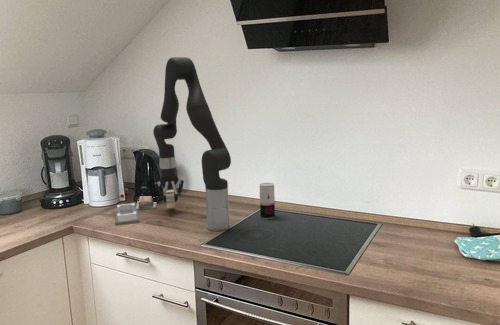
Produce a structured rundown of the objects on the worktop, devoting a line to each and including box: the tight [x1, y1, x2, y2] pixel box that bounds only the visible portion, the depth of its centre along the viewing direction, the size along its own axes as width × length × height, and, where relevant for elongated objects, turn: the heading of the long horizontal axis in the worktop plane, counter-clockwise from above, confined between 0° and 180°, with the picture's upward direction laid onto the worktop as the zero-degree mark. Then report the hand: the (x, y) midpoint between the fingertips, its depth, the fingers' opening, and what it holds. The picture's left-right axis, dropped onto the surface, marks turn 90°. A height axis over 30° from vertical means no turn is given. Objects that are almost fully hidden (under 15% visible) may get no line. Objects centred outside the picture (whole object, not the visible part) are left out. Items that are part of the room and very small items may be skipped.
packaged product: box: [135, 196, 158, 211], centre depth 205 cm, size 18×5×10 cm
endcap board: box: [115, 202, 140, 226], centre depth 184 cm, size 19×10×4 cm, turn 18°
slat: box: [165, 189, 176, 208], centre depth 189 cm, size 14×4×5 cm, turn 10°
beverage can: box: [259, 182, 276, 220], centre depth 178 cm, size 7×7×15 cm
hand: (170, 202), depth 190 cm, fingers closed on slat, 4 cm apart
